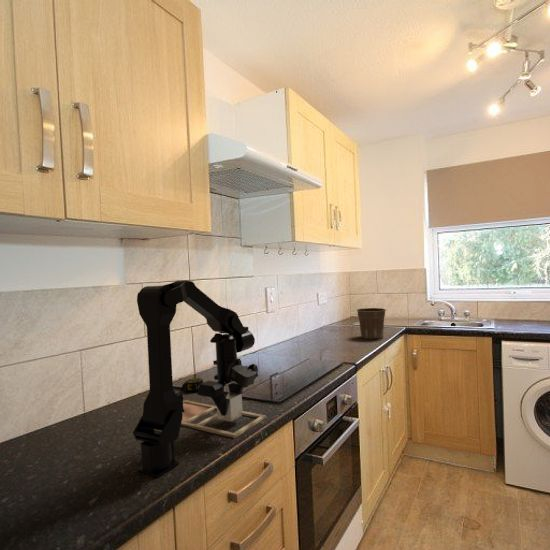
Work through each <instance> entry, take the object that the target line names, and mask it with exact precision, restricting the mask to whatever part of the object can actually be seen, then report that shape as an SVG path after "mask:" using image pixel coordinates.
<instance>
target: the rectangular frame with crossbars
mask: <svg viewBox="0 0 550 550" xmlns="http://www.w3.org/2000/svg"><path fill="white" fill-rule="evenodd" d="M183 409H184V412H182V414H183V416H182V422H181V426H183V427H187V428H190V429H191V428H192V429H196V430H199V431H202V432H203V431H204V432H208V433H213V434H216V435H220V436H223V437H228V438H232V439H236V438H237V437H238V436H239V437H240V435H242V434H243V433H245V432H246V431H248V430H250V429H251V428H253V427H254V426H256V425H257V424H259V423H260V422H262V421H263V420H265V419H267V415H264V414H259V413H255V412H249V411H243V410H242V411H243V415H242V416H244V417H245V416H246V417H250V418H256V419H254V420H252V421H251V422H249V423H248V424H246V425H244V426H243V427H241V428H240V429H238V430H236V431H234V432H231V431H226V430H222V429H218V428H214V427H209V426H205V425H206V424H208V423H210V422H212V421H214V420H216V419H218V418H217V413H215V414H213V415H211V416H209V417H208V418H205V419H203V420H202V421H200V422H198V423H192V422H195V421H196V420H199V419H200V418H202V417H203V416H206V415H207V414H210V413H212V412H213V411H217V406H216V405H212V404H207V403H202V402H198V401H192V400H189V399H188V400H187V399H183Z"/></svg>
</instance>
